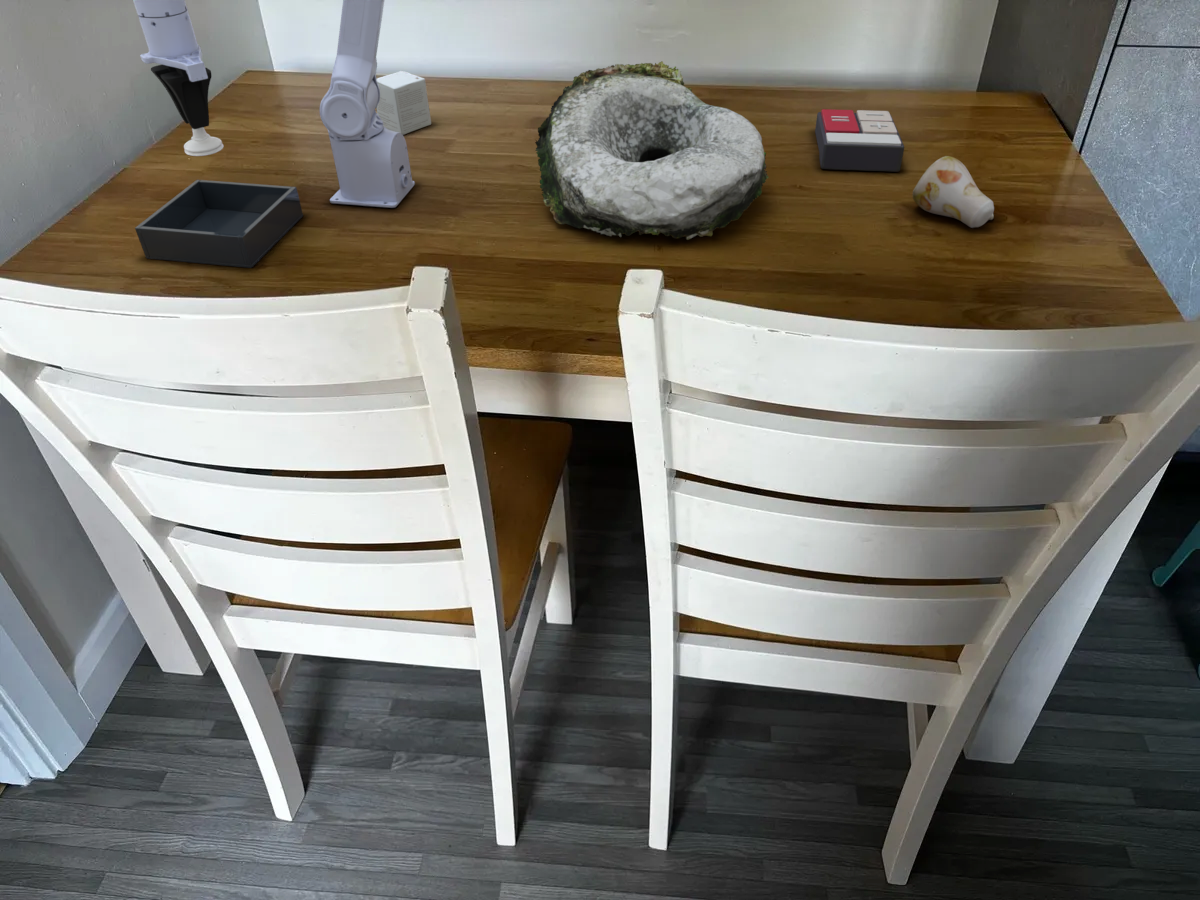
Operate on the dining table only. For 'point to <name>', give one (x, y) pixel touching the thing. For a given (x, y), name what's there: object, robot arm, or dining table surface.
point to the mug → (952, 193)
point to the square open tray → (220, 223)
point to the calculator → (858, 140)
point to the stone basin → (646, 155)
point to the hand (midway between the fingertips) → (196, 124)
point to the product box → (403, 102)
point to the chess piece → (202, 144)
